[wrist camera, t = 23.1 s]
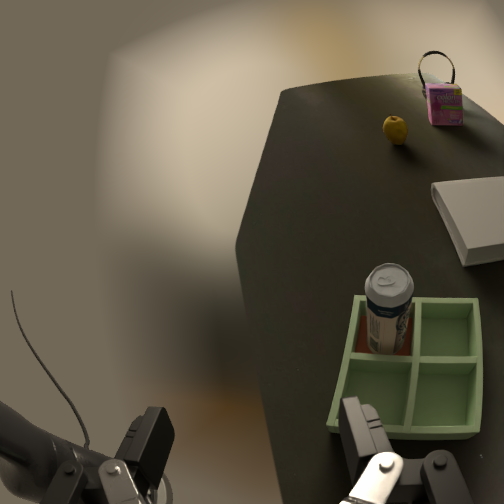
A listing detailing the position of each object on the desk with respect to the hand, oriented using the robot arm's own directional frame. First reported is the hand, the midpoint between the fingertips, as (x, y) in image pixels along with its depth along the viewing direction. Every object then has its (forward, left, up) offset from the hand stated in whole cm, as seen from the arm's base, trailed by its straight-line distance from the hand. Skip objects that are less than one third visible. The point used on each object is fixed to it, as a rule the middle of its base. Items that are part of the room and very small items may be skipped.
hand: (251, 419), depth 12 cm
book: (+27, +40, -22) cm, 53 cm away
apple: (+8, +70, -22) cm, 74 cm away
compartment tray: (+9, +12, -22) cm, 26 cm away
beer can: (+5, +16, -21) cm, 27 cm away
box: (+25, +85, -22) cm, 91 cm away
